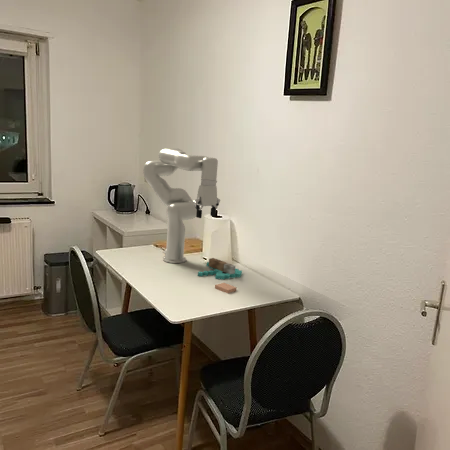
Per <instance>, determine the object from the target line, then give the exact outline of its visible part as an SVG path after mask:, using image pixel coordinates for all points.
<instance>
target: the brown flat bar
mask: <svg viewBox="0 0 450 450" xmlns="http://www.w3.org/2000/svg"><path fill="white" fill-rule="evenodd" d="M208 262H209V266H210V267H212V268H211V269H213V268H215V269H218V270H220V271H223V272H226V273H228V274H234V273H235V268H236V265H234V264H231V263H229V262H225V261H223V260H220V259H218V258H214V257H211V258H208ZM209 266H208V267H209Z"/></svg>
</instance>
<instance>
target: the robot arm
mask: <svg viewBox="0 0 450 450" xmlns="http://www.w3.org/2000/svg"><path fill="white" fill-rule="evenodd" d="M158 159H159V160H149V161H146V163H144V165H143V168H142V172H143V173H142V174H143V178H144V179H145V181H146V183H147V184H148V185H149V186H150V188H151V189H152V190H153V192H154V193H155V195H156V196H157V198H158V199H159V201H160V203H162V205H163V206H166V207H167V208H166V219H167V229H166V230H167V233H166V248H165V250H163V251H162V253H163V254H164V256H163V257H162V260H163V261H164V262H166V263H170V264H183V263H185V262H187V258H186V257H185V256H184V255H185V242H186V241H185V238H186V227H185V223H184V222H183V221H187V220H193V219H195V218H198V219H202V215H203V210H202V209H203V208H204V207H211V208H210V215H209V216H211V217H214V218H215V217H216V216H217V209H218V206H220V203H221V199H220V198H219V197H218V187H217V182H218V179H217V177H218V167H219V165H218V164H219V163H218V162H219V161H218V159H217V158H215V157H209V156H206V155H188V154H187V153H186V152H185V151H183V149H180V148H168V147H167V148H163V149H161V150H160V151H159V152H158ZM178 169H179V170H183V171H187V172H201V176H200V177H201V178H200V184H199V186H198V190H197V196H196V199H195V200H193V198H191V196H190V195H189V193H188V192H187V191H186V189H183V188H181V187H176V188H175V187H174V188H173V187H171V185H169V184H168V182H167V181H166V180H165V179H164V178H163V176H164V177H165V176H166V177H168V176H171V175H173V174H174V173H175V172H176V171H177V170H178Z"/></svg>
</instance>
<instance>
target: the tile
mask: <svg viewBox="0 0 450 450" xmlns="http://www.w3.org/2000/svg"><path fill="white" fill-rule="evenodd" d="M214 289H215V290H218V291H221V292H223V293H226V294H230V293H233V292H236V291H237V287H236V286H234V285H231V284H230V283H229V284H228V283H226V282H221V283H218V284H214Z"/></svg>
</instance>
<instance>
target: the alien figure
mask: <svg viewBox="0 0 450 450" xmlns="http://www.w3.org/2000/svg"><path fill="white" fill-rule="evenodd" d="M206 267H208V268H209V270H203V271H198V272H197V277H203V276H206V277H208V276H209V275H210V276H213V275H215V277H214V278H215V279H218V280H225V279H227V280H230V279H235V278H241V276H242V274H243V270H239V268H236V267H235V273H234V274H228V273H226V272H223V271H220V270H218V269H215V268H212V267H210V266H209V261H207V262H206Z"/></svg>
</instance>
